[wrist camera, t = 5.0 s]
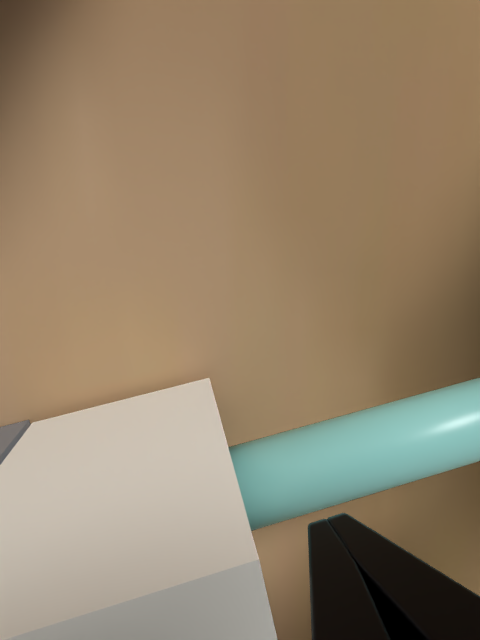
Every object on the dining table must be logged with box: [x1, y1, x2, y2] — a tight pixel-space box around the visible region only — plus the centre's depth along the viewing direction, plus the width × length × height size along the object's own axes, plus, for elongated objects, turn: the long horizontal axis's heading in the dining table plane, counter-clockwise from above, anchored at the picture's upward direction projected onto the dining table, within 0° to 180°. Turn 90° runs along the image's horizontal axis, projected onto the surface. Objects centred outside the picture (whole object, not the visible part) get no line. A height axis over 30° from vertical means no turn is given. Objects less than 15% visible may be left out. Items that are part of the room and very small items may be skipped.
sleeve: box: [0, 378, 277, 640], centre depth 8 cm, size 5×4×7 cm
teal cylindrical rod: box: [0, 378, 480, 531], centre depth 10 cm, size 25×4×4 cm, turn 102°
